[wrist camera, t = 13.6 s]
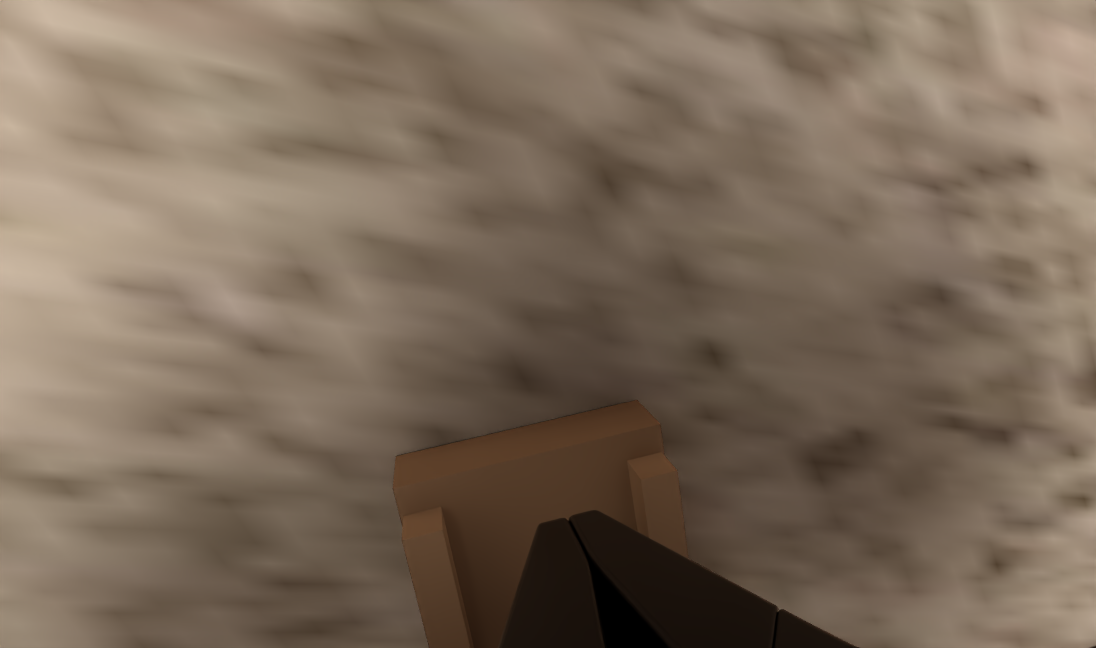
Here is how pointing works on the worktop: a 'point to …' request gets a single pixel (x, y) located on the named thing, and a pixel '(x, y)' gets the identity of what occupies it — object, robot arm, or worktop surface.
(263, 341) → the worktop surface
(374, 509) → the worktop surface
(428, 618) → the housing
